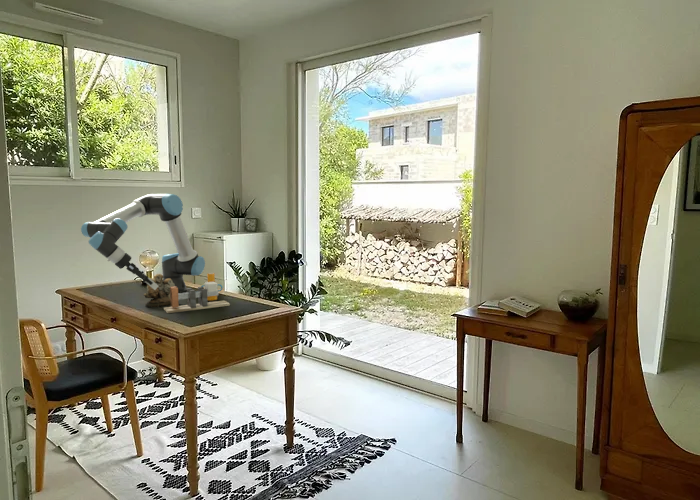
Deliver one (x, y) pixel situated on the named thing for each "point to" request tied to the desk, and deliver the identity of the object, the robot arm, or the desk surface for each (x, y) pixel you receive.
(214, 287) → the block
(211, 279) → the sippy cup
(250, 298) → the desk surface
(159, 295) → the brown rough lump
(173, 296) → the shaft
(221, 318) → the desk surface
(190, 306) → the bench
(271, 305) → the desk surface
